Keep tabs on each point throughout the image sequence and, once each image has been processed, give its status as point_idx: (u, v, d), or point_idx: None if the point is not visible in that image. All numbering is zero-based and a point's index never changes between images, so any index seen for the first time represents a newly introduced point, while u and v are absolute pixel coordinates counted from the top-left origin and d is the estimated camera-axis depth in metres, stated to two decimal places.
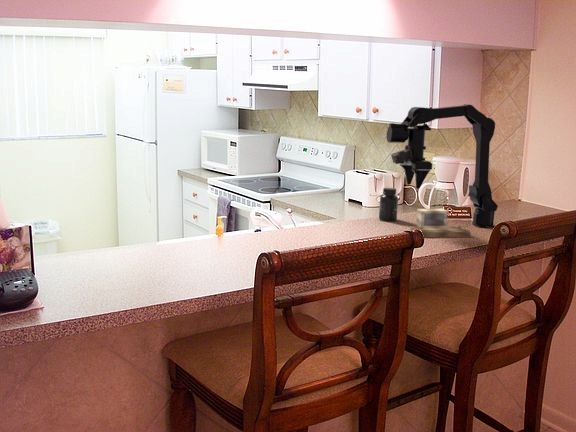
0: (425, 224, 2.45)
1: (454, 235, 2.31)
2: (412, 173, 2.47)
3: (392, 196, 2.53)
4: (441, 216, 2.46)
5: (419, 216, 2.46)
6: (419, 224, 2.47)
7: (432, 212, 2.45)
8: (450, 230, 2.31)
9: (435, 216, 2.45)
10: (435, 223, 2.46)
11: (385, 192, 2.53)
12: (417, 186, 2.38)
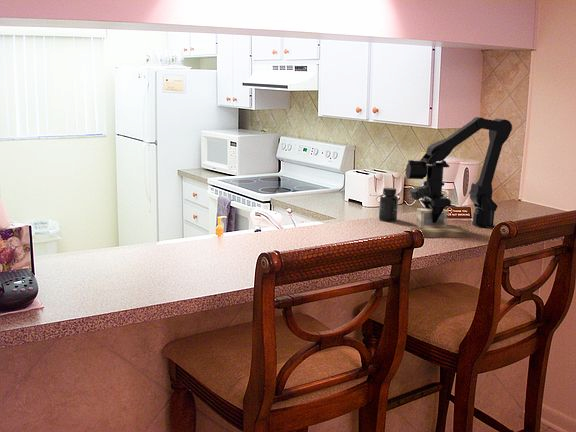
0: (425, 224, 2.45)
1: (454, 235, 2.31)
2: None
3: (392, 196, 2.53)
4: (441, 216, 2.46)
5: (419, 215, 2.46)
6: (419, 224, 2.47)
7: None
8: (450, 230, 2.31)
9: None
10: None
11: (385, 192, 2.53)
12: (434, 220, 2.45)
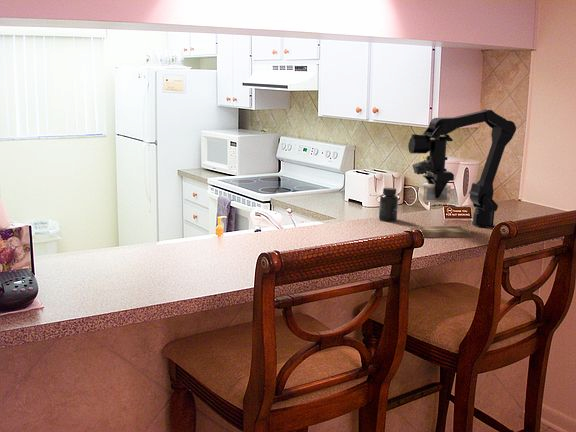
0: (428, 199, 2.42)
1: (454, 235, 2.31)
2: None
3: (392, 196, 2.53)
4: (444, 191, 2.42)
5: (422, 190, 2.43)
6: (421, 199, 2.43)
7: None
8: (450, 230, 2.31)
9: None
10: None
11: (385, 192, 2.53)
12: (437, 195, 2.41)
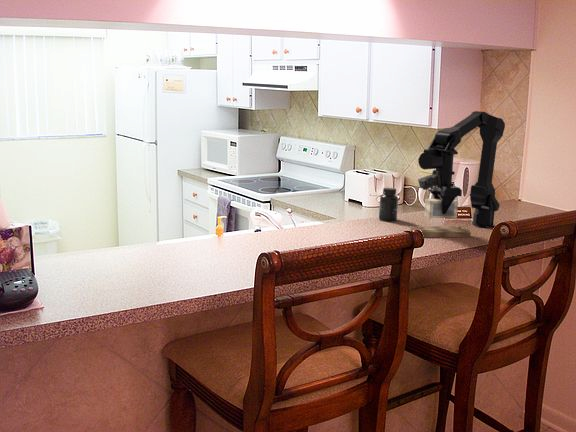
0: (434, 215, 2.32)
1: (454, 235, 2.31)
2: None
3: (392, 196, 2.53)
4: (451, 206, 2.32)
5: (428, 206, 2.33)
6: (427, 215, 2.33)
7: None
8: (450, 230, 2.31)
9: None
10: None
11: (385, 192, 2.53)
12: (444, 211, 2.32)
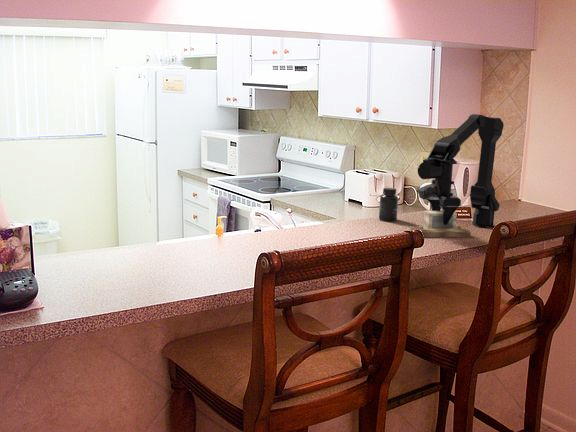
0: (433, 227, 2.33)
1: (454, 235, 2.31)
2: (439, 208, 2.39)
3: (392, 196, 2.53)
4: None
5: (427, 218, 2.34)
6: (426, 227, 2.34)
7: (440, 214, 2.32)
8: (450, 230, 2.31)
9: None
10: (443, 226, 2.33)
11: (385, 192, 2.53)
12: (445, 222, 2.30)
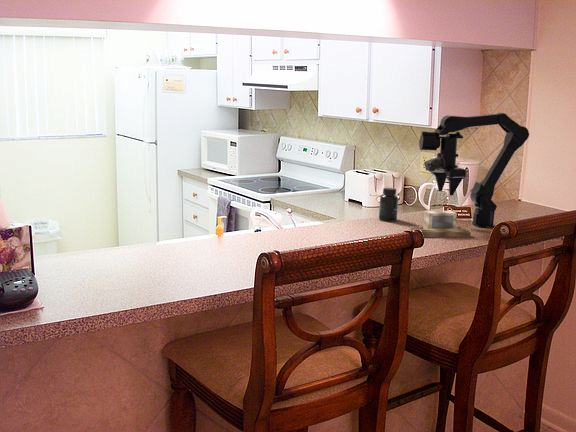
0: (433, 227, 2.33)
1: (454, 235, 2.31)
2: (443, 180, 2.52)
3: (392, 196, 2.53)
4: (450, 218, 2.33)
5: (427, 218, 2.34)
6: (426, 227, 2.34)
7: (440, 214, 2.32)
8: (450, 230, 2.31)
9: (444, 218, 2.33)
10: (443, 226, 2.33)
11: (385, 192, 2.53)
12: (451, 193, 2.43)
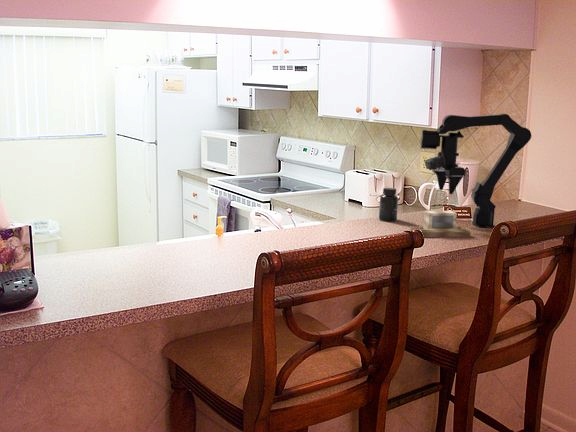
0: (433, 227, 2.33)
1: (454, 235, 2.31)
2: (444, 179, 2.54)
3: (392, 196, 2.53)
4: (450, 218, 2.33)
5: (427, 218, 2.34)
6: (426, 227, 2.34)
7: (440, 214, 2.32)
8: (450, 230, 2.31)
9: (444, 218, 2.33)
10: (443, 226, 2.33)
11: (385, 192, 2.53)
12: (451, 191, 2.45)
